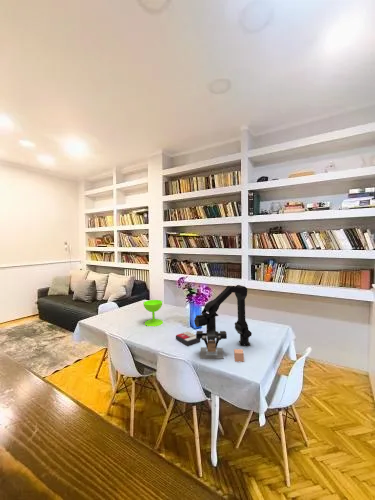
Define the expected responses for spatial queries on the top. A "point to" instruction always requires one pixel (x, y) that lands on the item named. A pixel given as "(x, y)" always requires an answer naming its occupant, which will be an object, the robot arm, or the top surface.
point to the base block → (211, 345)
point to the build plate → (211, 353)
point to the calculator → (187, 338)
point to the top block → (239, 355)
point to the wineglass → (153, 307)
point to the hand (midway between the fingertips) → (211, 348)
